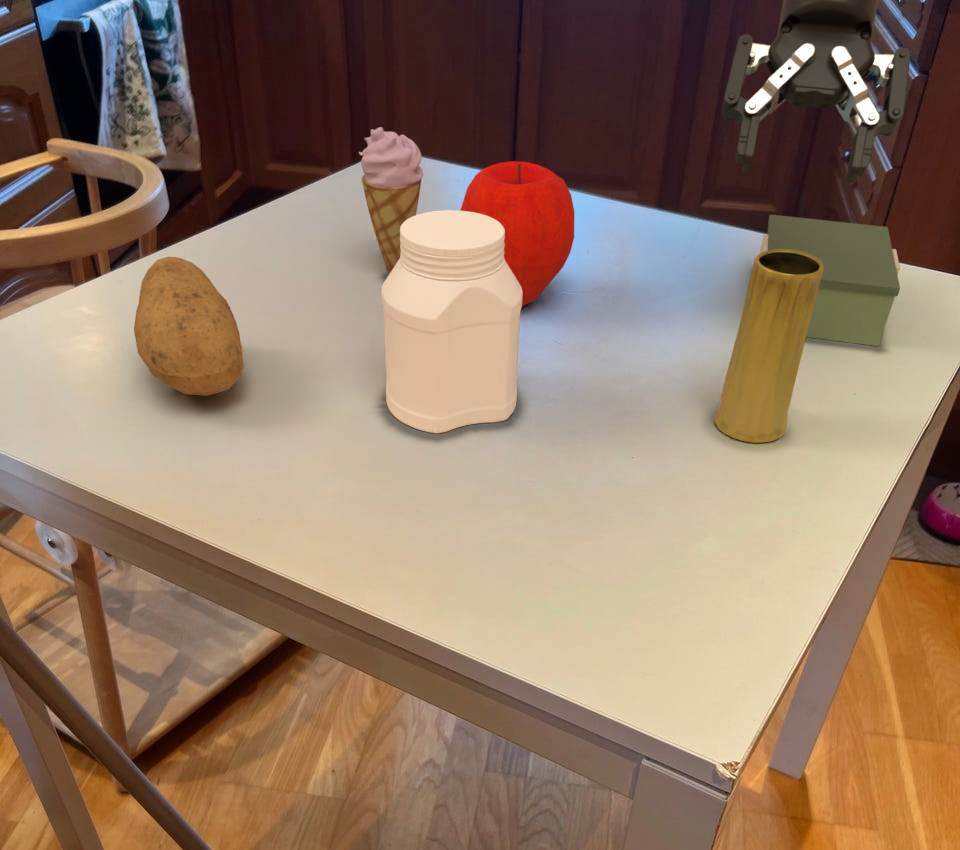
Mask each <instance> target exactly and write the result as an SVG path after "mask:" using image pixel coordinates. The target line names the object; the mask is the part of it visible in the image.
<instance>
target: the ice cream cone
mask: <svg viewBox="0 0 960 850" xmlns="http://www.w3.org/2000/svg"><path fill="white" fill-rule="evenodd" d="M364 141H365V142H366V143H367V147H365V148H364V149H363V150H362V151H358V154H359V155H360V156H362V158H361V161H360V164H361V169H362V172H363V175H362V176H361V183H362V188H363V192H364V193H363V194H364V197H365V201H366V206H367V209H368V210H367V211H368V213H369V217H370V220H371V225H372V228H373V231H374V234H375V238H376V241H377V244H378V248H379V250H380V251H379V252H380V253H381V256H382V260H383V263H384V266H385V269H386V272H387V276H389V274H390V272H391V271H392V269H393V268H394V266H395V265H396V263H397V262H398V260H399V259H400V252H401V249H400V244H401V243H400V227H401V225H402V224H403V222H405V221H406V220H407V219H409V218H411V217H413V216H415V215H417V211H418V206H419V200H420V199H419V198H420V193H421V186H422V179H423V177H424V171H423V168H422V167H421V166H420V165H421V162H422V157H423V156H422V153H421V150H420V148H419V147H418V145H417V143H415V141H413V140H412V139H411V138H408V137H407V136H406V135H404V134H400V135H398V133H396V132H395V131H384V128H383V127H382V126H380V127H377V128H375V129H373V128H372V129H370V136H368V137H364Z"/></svg>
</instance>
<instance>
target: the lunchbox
mask: <svg viewBox="0 0 960 850" xmlns="http://www.w3.org/2000/svg"><path fill="white" fill-rule="evenodd" d="M774 249H790V250H797V251H801V252H805V253H808V254H811V255H813V256H815V257H817V258H818V259H819V260H821V261H822V263H823V273H822V277H821V281H820V285H819V289H818V293H817V296H816V300H815V304H814V308H813V312H812V316H811V320H810V323H809V326H808V330H807V334H806V338H809V339H816V340H817V339H818V340H826V341H835V342H842V343H848V344H849V343H850V344H857V345H864V346H865V345H867V346H874V347H879V346H880V344H881V340H882V337H883V334H884V331H885V329H886V324H887V322H888V318H889V315H890V313H891V309H892V307H893V303H894V300H895V297H898V296H899V293H900V290H901V286H900V281H899V277H898V275H899V272H900V269H901V266H900V261H899V257H898V252H897V249H896V248H893V247H892V241H891V236H890V230H889V227H888V226H881V225H873V224H862V223H853V222H844V221H834V220H825V219H815V218H806V217H797V216H788V215H778V214H769V216H768V220H767V234H763V235H762V240H761V245H760V249H759V253H758V254H760V253H762V252H764V251H768V250H774Z"/></svg>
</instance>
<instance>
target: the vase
mask: <svg viewBox="0 0 960 850" xmlns="http://www.w3.org/2000/svg"><path fill="white" fill-rule="evenodd" d="M759 253H760V252H759ZM759 253H758V254H757V255H756V256H755V258H754V262H753V265H752V269H751V274H750V278H749V282H748V287H747V291H746V297H745V299H744V300H745V301H744V303H743V304H744V305H743V309H742V313H741V318H740V321H739V326H738V329H737V333H736V334H737V335H736V338H735V341H734V345H733V348H732V352H731V357H730V360H729V363H728V367H727V370H726V375H725V378H724V382H723V386H722V391H721V395H720V402H719V406H718V408H717V410H716V412H715V416H714V423H715V425H716V427H717V428H718V429H719V431H720V432H722V433H723V434H725V435H727V436H728V437H731V438H733V439H734V440H737V441H741V442H746V443H753V444H754V443H755V444H757V443H758V444H760V443H762V444H763V443H769V442H773V441H775V440H778V439H780V438H781V437H783V435H784V434H785V433H786V430H787V427H788V426H787V425H788V413H789V409H790V405H791V401H792V397H793V392H794V388H795V383H796V380H797V376H798V372H799V368H800V363H801V360H802V355H803V351H804V348H805V342H806V338H807V337H806V334H807V330H808V326H809V323H810V320H811V316H812V312H813V308H814V304H815V300H816V296H817V293H818V289H819V285H820V281H821V277H822V273H823V263H822V261H821V260H819V259H818V258H817V257H815V256H813V255H811V254H808V253H805V252H801V251H797V250H790V249H774V250H768V251H764V252H762V253H760V254H759Z"/></svg>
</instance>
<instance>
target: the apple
mask: <svg viewBox="0 0 960 850" xmlns="http://www.w3.org/2000/svg"><path fill="white" fill-rule="evenodd" d="M459 211H469V212H475V213H479V214H483V215H486V216H489V217H491V218H493V219H495V220H497V221H498V222H500V223H501V224H502V226H503V227H504V230H505V239H504V244H505V246H504V260H505V261H506V263H507V265H508V266H509V268H510V269H511V271H512V273H513V274H514V276H515V277H516V279H517V281H518V282H519V284H520V286H521V288H522V292H523V296H522V307H524V306H526V305H528V304H531V303H532V302H534V301H536V300H537V299H539V296H540V295H541V294H542V293H543V292H544V290H545V289H546V288H547V287H548V286H549V285H550V283H552V281H553V280H554V279H555V278H556V276H557V275H558V274H559V273H560V271H561V270H562V269H563V268H564V266H565V264H566V262H567V261H568V258H569V256H570V254H571V252H572V248H573V245H574V240H575V207H574V202H573V196H572V194H571V191H570V190H569V188H568V186H567V183H566V182H565V179H563V178H562V177H560V176H559V175H557V174H556V173H554V172H553V171H552V170H550V169H548V168H546V167H544V166H542V165H539V164H536V163H532V162H528V161H519V160H518V161H517V160H515V161H514V160H512V161H503V162H497V163H494V164H492V165H488V166H487V167H485V168H483V169H481V170H480V171H479V172H477V174H475V175H474V177H473V178H472V180H471V181H470V182H469V184H468V186H467V187H466V191H465V193H464V198H463V201H462V203H461V207H460V210H459Z"/></svg>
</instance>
